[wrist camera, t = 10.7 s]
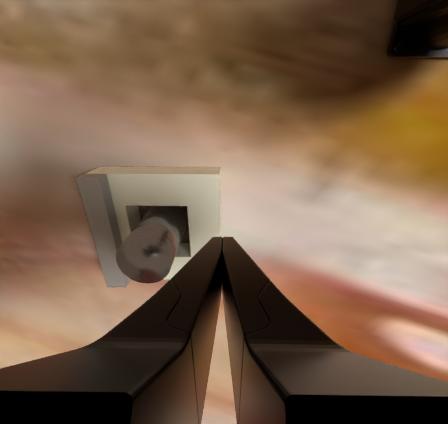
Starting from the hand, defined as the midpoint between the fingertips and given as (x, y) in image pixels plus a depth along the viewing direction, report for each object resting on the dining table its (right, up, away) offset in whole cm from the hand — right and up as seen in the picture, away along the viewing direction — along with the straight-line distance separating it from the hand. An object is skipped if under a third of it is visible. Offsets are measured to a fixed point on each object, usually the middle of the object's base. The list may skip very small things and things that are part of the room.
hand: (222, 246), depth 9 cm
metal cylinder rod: (-6, +1, +13) cm, 14 cm away
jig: (-6, +1, +13) cm, 14 cm away
